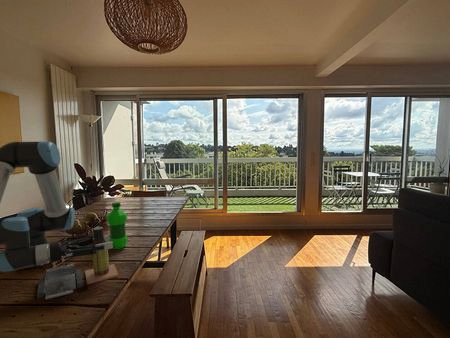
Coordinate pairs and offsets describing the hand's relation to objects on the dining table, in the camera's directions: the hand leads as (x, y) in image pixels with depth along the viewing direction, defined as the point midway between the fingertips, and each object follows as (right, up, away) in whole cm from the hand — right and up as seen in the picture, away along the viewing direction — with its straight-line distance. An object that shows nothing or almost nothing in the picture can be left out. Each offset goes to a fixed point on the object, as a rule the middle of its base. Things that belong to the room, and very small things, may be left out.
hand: (110, 241), depth 116 cm
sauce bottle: (-4, -13, -1) cm, 14 cm away
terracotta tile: (-4, -14, -1) cm, 15 cm away
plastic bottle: (-8, -12, +30) cm, 33 cm away
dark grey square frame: (-14, -15, -12) cm, 24 cm away
